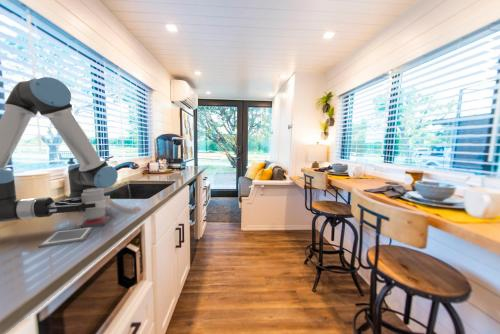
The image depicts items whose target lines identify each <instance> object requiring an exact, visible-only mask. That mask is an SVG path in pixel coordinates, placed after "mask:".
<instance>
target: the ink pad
mask: <svg viewBox="0 0 500 334" xmlns="http://www.w3.org/2000/svg"><path fill="white" fill-rule="evenodd" d="M85 219H86V218H85ZM109 220H110V215H107V216H106V215H104V216H103V217H101V218H99V219H94V220H87V219H86V220H84V221H83V222H82V224H80V225H79V226H80V227H79V229H80V228H88V227H94V228H96V227H104V226H106V224H107V223H108V221H109Z"/></svg>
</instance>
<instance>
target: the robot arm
mask: <svg viewBox="0 0 500 334" xmlns="http://www.w3.org/2000/svg"><path fill="white" fill-rule="evenodd" d="M72 96H73V95H72V92H71V90H70V88H69V87H68V85H67V84H65V83H64V82H63V81H62V80H60V79H58V78H56V77H52V76H37V77H34V78H33V77H32V78H29V79H23V80H21V81H19V82H18V83H16V85H14V87H13V88H12V90H11V91H10V93H9V96H8V97H7V99H6V101H5V103H4V108H5V111H4V112H3V114H2V116H1V118H0V223H3V222H12V221H19V220H27V221H31V220H32V219H37V218H39V219H40V218H49V217H51V216H53V215H54V214H62V213H76V212H79V213H80V212H82V213H83V212H85V211H86V209H93V208H102V207H105V208H107V203H111V195H104V200H103V201H92V202H86V204H85V203H82V196H81V195H82V193H83V190H86V189H92V188H101V190H102V189H109V188H112V187H113V186H114V185H115V184H116V183H117V180H118V178H119V176H118V175H119V174H118V171H117V169H116V168H115V167H114V166H111V165H109V164H108V163H107V161H106V159H105V158H103V157H100V156H99V155H98V152H97V150H96V149H95V147H94V146H93V144H92V143H91V142H90V139H89V138H88V136H87V135H86V133H85V131H84V129H83V128H82V126H81V125H80V123H79V121H78V119H77V118H76V117H75V114H74V113H73V109H74V105H73V104H72V102H71V101H72ZM38 113H39V114H40V116H43V117H46V118H48V119H49V122H51V124H52V126H53V128H55V130H56V132H57V133H58V134H59V136H60V137H61V139H62V141H63V142H64V144H65V145H66V147H67V148H68V149H69V150H70V152H71V154H72V155H73V157H74V158H75V159H76V161H77V163H72V164H69V165H68V167H67V173H68V174H67V175H68V181H69V192H70V193H69V197H68V198H63V199H59V200H57V201H54V199H53V198H52V197H50V196H49V197H39V198H36V197H33V198H24V199H23V198H22V199H17V192H16V183H15V176H14V171H13V169H12V168H9V167H7V165H8V164H9V162H10V161H11V157H12V156H13V154H14V153H15V150H16V148H17V146H18V145H19V142H20V140H21V138H22V137H23V134H24V133H25V131H26V128H27V127H28V125H29V123H30V121H31V119H32V118H35V117H36V116H37V115H38ZM85 208H86V209H85Z"/></svg>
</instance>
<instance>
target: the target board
mask: <svg viewBox="0 0 500 334" xmlns="http://www.w3.org/2000/svg"><path fill="white" fill-rule="evenodd" d="M94 229H95V227H88V228H80V227H79V228H73V229H66V230H59V231H54V232H53V233H51V234H50V235H49V236H48V237H47V238H45V239H44V240H43V241H41V243H39V245H38V248H43V247H49V246H50V247H51V246H58V245H63V244H72V243H78V242H84V241H86V238H88V236H90V234H91V233H92V231H93V230H94Z"/></svg>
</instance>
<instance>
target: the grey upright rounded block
mask: <svg viewBox="0 0 500 334" xmlns="http://www.w3.org/2000/svg"><path fill="white" fill-rule="evenodd" d="M81 196H82V203H85V204H86V202H92V201H103V200H104V196H105V192H104V190H102V189H101V188H92V189H86V190H83V193H82V195H81ZM85 209H86V208H85ZM82 213H83V219H87V220H94V219H99V218H101V217H103V216H106V213H107V212H106V207H102V208H93V209H86V211H85V212H83V211H82Z"/></svg>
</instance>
